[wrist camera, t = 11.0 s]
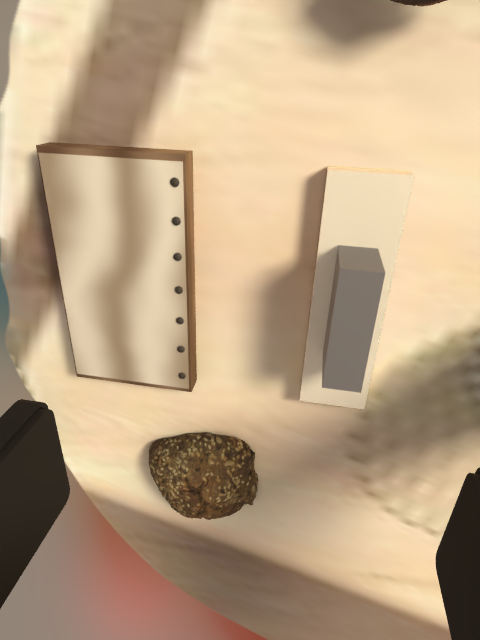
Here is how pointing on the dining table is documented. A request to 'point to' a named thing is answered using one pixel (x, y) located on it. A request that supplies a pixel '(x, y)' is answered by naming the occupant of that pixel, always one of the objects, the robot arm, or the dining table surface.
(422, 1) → the rusty gear assembly
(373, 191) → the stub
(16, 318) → the dining table surface
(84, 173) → the light wooden flat board
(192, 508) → the bread roll
